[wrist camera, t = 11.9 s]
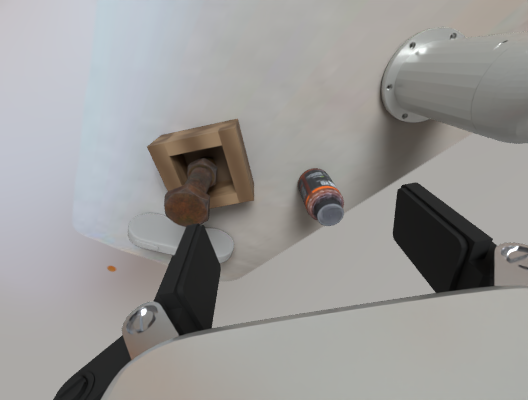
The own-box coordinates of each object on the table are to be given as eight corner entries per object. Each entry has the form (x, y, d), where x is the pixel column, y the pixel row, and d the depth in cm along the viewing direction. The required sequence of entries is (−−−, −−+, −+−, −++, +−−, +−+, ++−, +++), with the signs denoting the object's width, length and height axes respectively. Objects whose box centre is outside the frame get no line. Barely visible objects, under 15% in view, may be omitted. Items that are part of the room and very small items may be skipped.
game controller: (138, 217, 47) (118, 245, 40) (139, 208, 46) (118, 235, 39) (232, 240, 51) (229, 270, 44) (235, 233, 50) (232, 261, 43)
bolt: (221, 179, 43) (206, 231, 30) (192, 176, 42) (165, 227, 29) (223, 149, 40) (208, 191, 27) (192, 145, 39) (162, 186, 26)
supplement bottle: (305, 200, 46) (318, 237, 36) (292, 176, 43) (303, 209, 34) (333, 186, 45) (355, 221, 35) (322, 161, 42) (342, 191, 32)
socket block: (237, 118, 38) (235, 127, 33) (253, 183, 44) (253, 200, 39) (161, 135, 39) (146, 146, 34) (187, 196, 45) (178, 214, 40)
